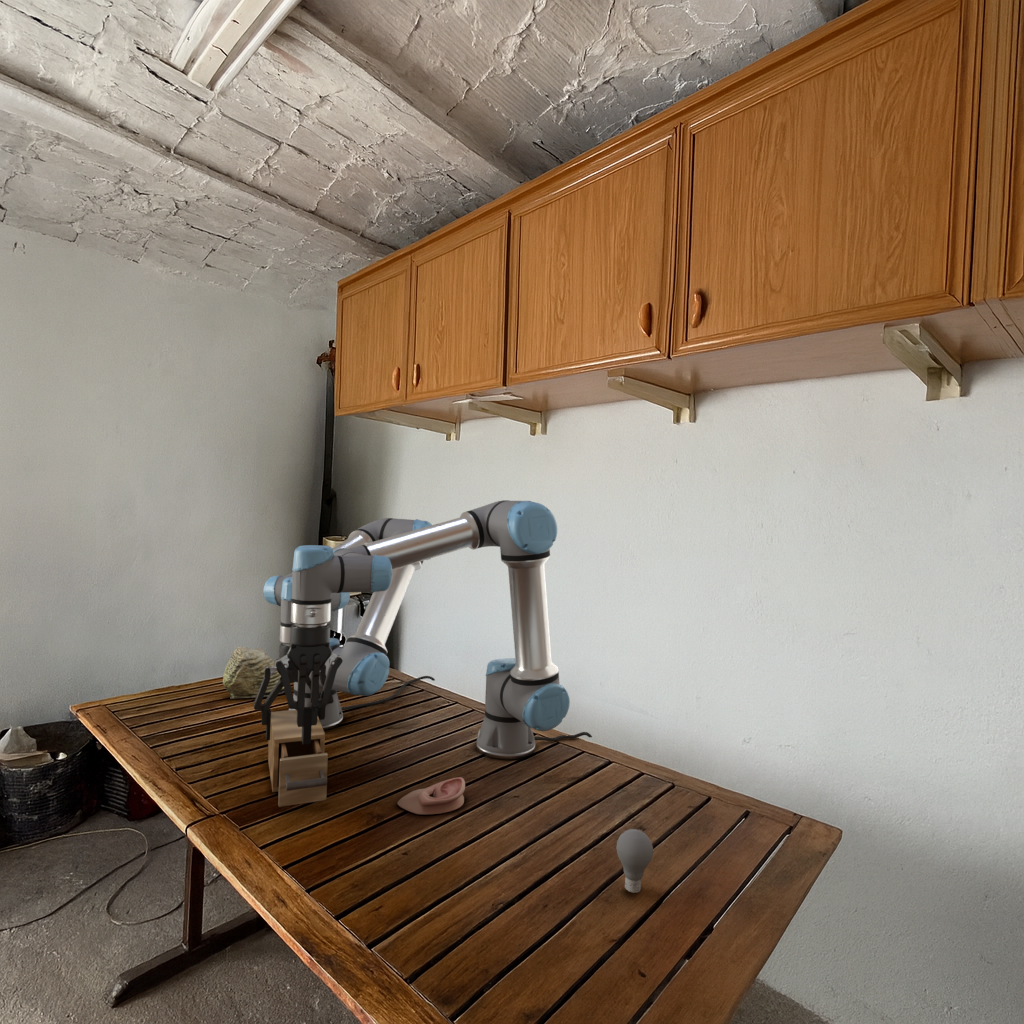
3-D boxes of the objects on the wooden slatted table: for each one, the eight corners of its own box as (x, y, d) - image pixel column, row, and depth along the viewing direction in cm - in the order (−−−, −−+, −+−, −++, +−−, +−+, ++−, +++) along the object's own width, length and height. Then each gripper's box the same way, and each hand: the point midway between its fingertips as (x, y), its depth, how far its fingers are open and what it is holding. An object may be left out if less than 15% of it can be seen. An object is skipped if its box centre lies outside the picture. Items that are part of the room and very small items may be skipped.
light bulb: (610, 879, 108) (613, 822, 108) (644, 879, 109) (647, 822, 109) (619, 902, 102) (622, 840, 102) (655, 901, 103) (658, 840, 103)
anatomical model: (392, 791, 129) (412, 768, 140) (391, 810, 129) (411, 786, 140) (454, 800, 126) (470, 776, 137) (454, 820, 126) (469, 794, 137)
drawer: (330, 813, 125) (332, 766, 125) (280, 821, 121) (282, 772, 121) (316, 766, 146) (317, 726, 146) (273, 772, 142) (274, 730, 142)
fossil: (218, 695, 195) (220, 647, 195) (278, 685, 208) (279, 640, 207) (228, 703, 189) (230, 653, 188) (289, 692, 201) (290, 645, 201)
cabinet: (323, 785, 139) (325, 734, 139) (272, 792, 134) (274, 739, 134) (313, 753, 156) (314, 707, 155) (267, 759, 151) (269, 712, 151)
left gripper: (244, 649, 142) (240, 747, 142) (348, 643, 151) (345, 735, 151) (243, 641, 149) (240, 735, 149) (343, 637, 158) (340, 725, 158)
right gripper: (276, 628, 119) (272, 752, 120) (347, 626, 125) (342, 744, 125) (274, 621, 126) (270, 738, 127) (341, 618, 131) (336, 731, 132)
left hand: (293, 735), depth 150 cm, fingers closed on cabinet, 10 cm apart
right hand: (306, 741), depth 126 cm, fingers closed
